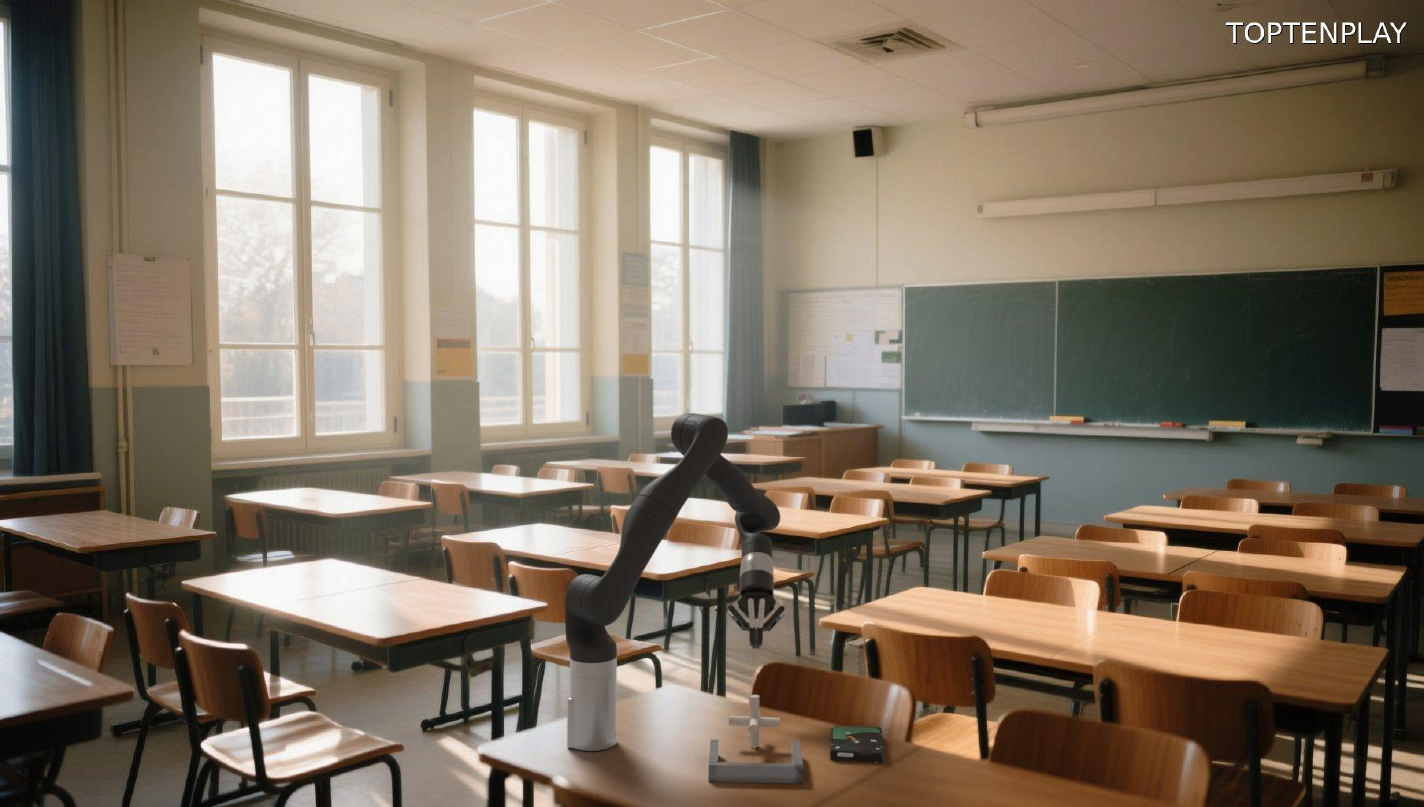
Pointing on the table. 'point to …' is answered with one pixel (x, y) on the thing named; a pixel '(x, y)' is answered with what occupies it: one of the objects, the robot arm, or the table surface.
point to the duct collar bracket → (756, 769)
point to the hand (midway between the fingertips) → (756, 646)
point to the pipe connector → (754, 721)
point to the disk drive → (856, 744)
